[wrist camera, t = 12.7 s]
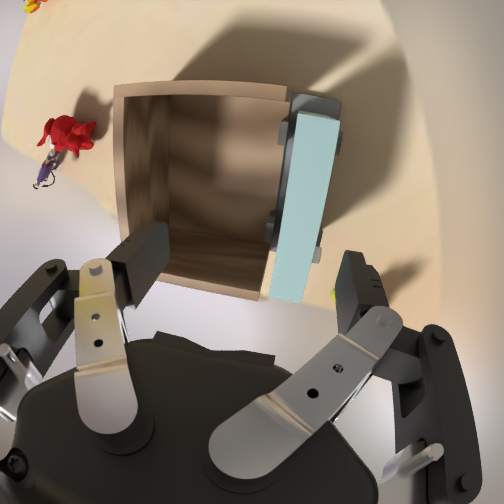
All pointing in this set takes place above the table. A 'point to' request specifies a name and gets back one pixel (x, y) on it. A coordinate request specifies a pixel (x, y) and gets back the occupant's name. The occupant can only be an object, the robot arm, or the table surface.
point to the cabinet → (209, 173)
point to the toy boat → (33, 5)
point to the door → (304, 204)
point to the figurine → (63, 142)
